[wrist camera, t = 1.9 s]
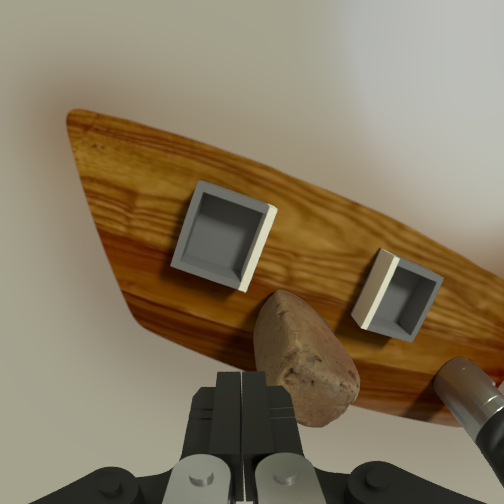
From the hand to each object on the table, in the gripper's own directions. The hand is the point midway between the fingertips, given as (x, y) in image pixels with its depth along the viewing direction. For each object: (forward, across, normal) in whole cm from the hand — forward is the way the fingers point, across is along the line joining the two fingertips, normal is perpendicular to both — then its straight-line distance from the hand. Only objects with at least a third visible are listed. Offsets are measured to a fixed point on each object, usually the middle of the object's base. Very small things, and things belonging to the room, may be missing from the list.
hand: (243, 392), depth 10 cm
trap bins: (+35, +10, -6) cm, 37 cm away
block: (+35, +7, -14) cm, 38 cm away
